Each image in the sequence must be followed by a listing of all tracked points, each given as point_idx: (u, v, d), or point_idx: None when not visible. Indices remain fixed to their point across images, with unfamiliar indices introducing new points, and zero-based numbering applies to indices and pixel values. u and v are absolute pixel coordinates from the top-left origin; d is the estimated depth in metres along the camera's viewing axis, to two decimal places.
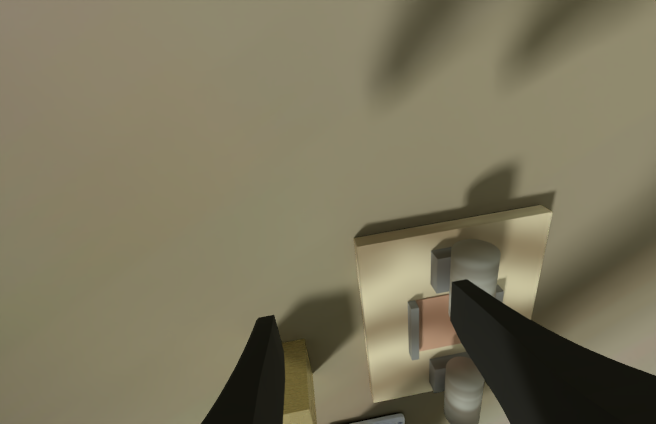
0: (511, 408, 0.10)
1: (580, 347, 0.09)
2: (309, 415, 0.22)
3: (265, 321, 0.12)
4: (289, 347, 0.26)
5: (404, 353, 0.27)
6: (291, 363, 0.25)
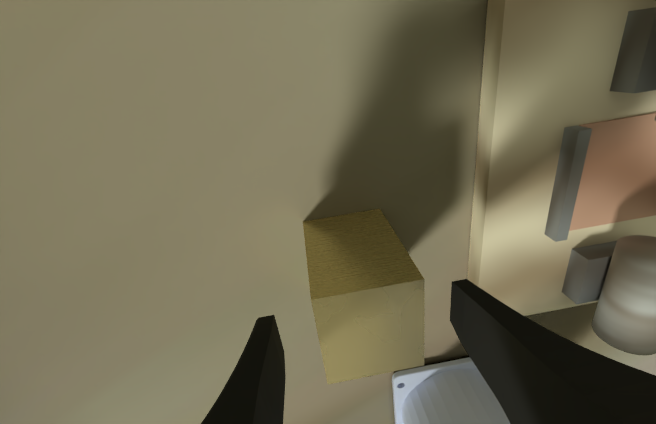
0: (511, 408, 0.10)
1: (580, 347, 0.09)
2: (421, 294, 0.12)
3: (265, 321, 0.12)
4: (358, 217, 0.16)
5: (537, 235, 0.17)
6: (368, 232, 0.15)
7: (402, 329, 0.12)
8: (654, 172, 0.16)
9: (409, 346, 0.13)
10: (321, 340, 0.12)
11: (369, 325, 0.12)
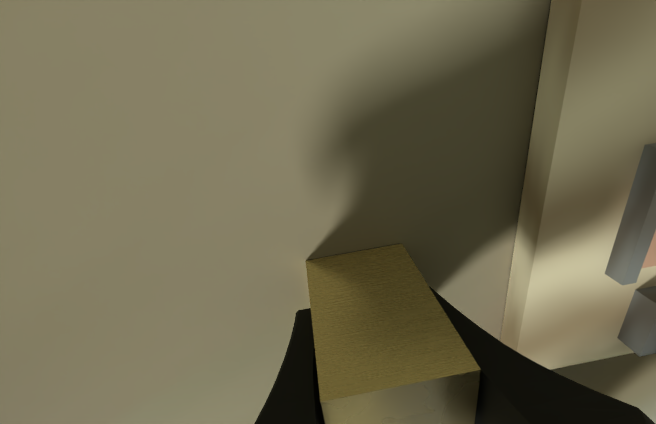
0: None
1: (525, 358, 0.08)
2: (475, 387, 0.08)
3: (306, 314, 0.12)
4: (375, 257, 0.13)
5: (596, 275, 0.14)
6: (391, 280, 0.11)
7: None
8: None
9: None
10: None
11: None
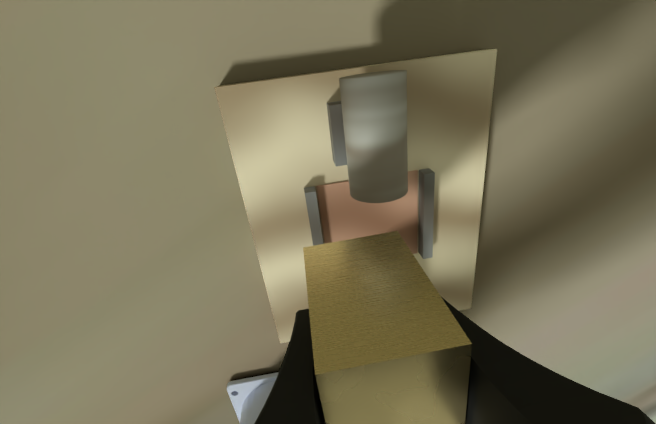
0: None
1: (525, 358, 0.08)
2: (467, 362, 0.08)
3: (306, 314, 0.12)
4: (371, 243, 0.13)
5: None
6: (386, 264, 0.12)
7: (438, 405, 0.09)
8: (397, 221, 0.19)
9: None
10: (328, 422, 0.09)
11: (394, 403, 0.09)
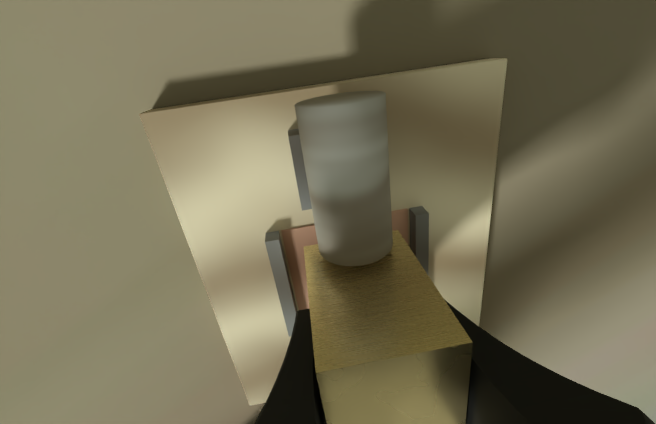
0: None
1: (525, 358, 0.08)
2: (467, 360, 0.08)
3: (306, 313, 0.12)
4: None
5: (281, 326, 0.17)
6: (387, 263, 0.12)
7: (438, 403, 0.09)
8: None
9: (447, 423, 0.09)
10: (329, 421, 0.09)
11: (394, 401, 0.09)
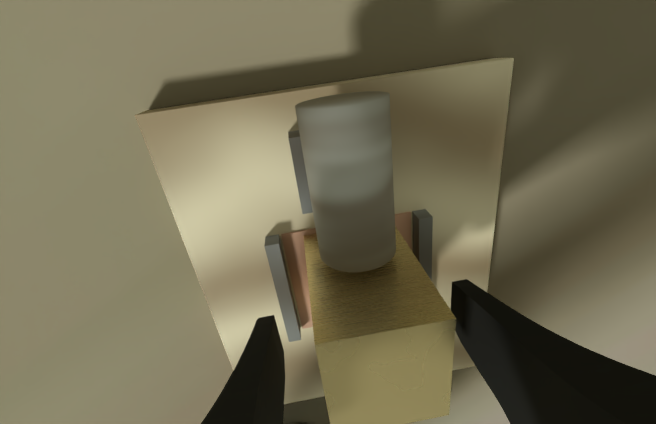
0: (511, 408, 0.10)
1: (580, 347, 0.09)
2: (451, 335, 0.09)
3: (265, 321, 0.12)
4: None
5: (281, 331, 0.17)
6: None
7: (426, 376, 0.10)
8: None
9: (433, 394, 0.10)
10: (326, 390, 0.10)
11: (385, 372, 0.10)
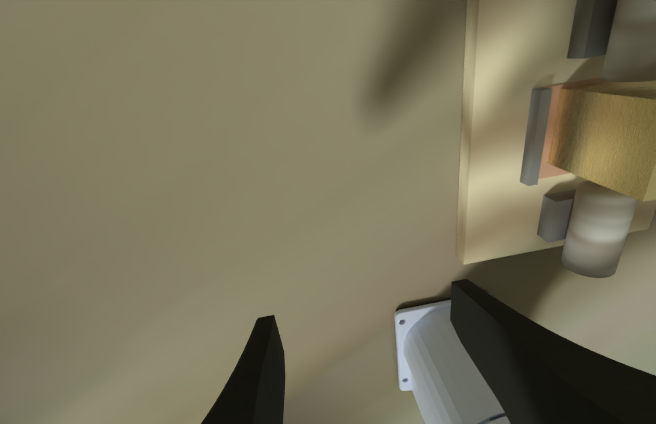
0: (511, 408, 0.10)
1: (580, 347, 0.09)
2: None
3: (265, 321, 0.12)
4: (616, 82, 0.18)
5: (514, 182, 0.21)
6: (647, 83, 0.16)
7: None
8: None
9: None
10: None
11: None
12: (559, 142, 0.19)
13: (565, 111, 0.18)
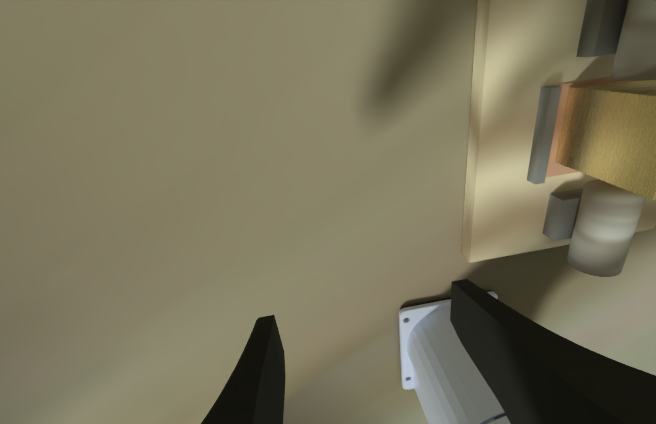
0: (511, 408, 0.10)
1: (580, 347, 0.09)
2: None
3: (265, 321, 0.12)
4: (625, 81, 0.18)
5: (521, 181, 0.21)
6: None
7: None
8: None
9: None
10: None
11: None
12: (567, 141, 0.19)
13: (574, 109, 0.18)
